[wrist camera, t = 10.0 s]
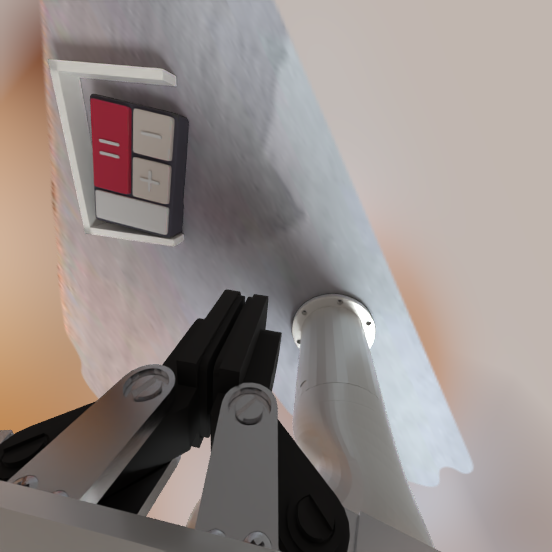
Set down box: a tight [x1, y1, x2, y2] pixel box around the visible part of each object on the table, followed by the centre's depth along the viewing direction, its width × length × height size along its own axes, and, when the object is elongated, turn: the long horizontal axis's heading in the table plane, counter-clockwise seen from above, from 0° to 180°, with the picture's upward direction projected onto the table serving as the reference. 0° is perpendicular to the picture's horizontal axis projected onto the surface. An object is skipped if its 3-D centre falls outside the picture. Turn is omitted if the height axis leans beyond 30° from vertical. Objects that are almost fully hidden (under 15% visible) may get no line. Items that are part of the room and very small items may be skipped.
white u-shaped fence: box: [48, 59, 184, 247], centre depth 34 cm, size 20×14×3 cm
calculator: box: [90, 94, 189, 238], centre depth 35 cm, size 11×4×15 cm
